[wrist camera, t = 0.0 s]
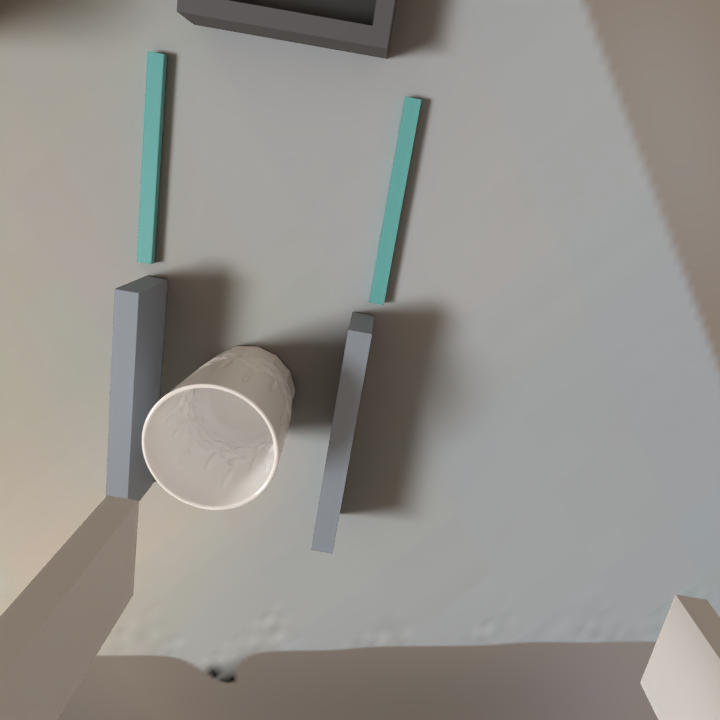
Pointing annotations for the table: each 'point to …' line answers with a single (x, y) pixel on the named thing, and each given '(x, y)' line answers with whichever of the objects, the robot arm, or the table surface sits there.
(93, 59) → the table surface
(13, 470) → the table surface
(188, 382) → the white cup
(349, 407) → the walled channel
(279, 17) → the tray
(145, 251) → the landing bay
